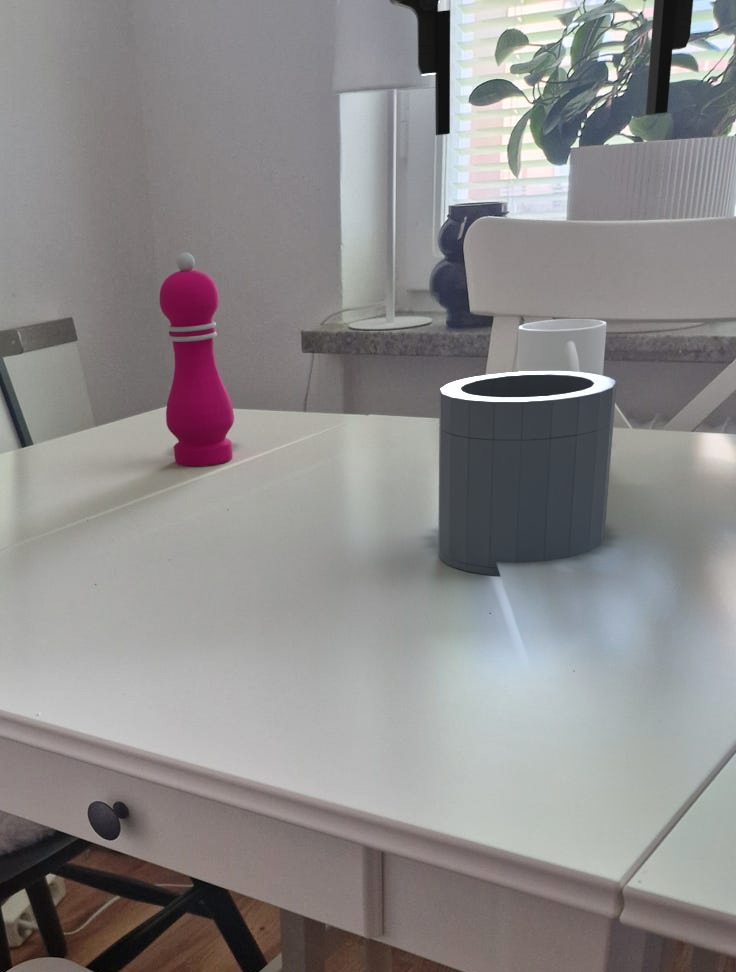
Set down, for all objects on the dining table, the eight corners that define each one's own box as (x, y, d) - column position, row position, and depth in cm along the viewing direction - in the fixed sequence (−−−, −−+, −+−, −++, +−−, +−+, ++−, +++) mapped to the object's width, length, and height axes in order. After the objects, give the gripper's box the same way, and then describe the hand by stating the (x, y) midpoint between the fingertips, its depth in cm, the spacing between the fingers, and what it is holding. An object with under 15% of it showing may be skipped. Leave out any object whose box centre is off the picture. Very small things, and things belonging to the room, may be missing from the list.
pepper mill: (204, 470, 121) (184, 255, 111) (156, 464, 125) (133, 256, 115) (251, 456, 125) (236, 248, 115) (203, 450, 130) (185, 249, 120)
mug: (609, 471, 108) (620, 332, 102) (516, 475, 109) (521, 338, 103) (593, 444, 118) (603, 315, 112) (508, 448, 119) (512, 321, 113)
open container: (587, 526, 94) (599, 366, 87) (616, 572, 83) (631, 395, 77) (434, 533, 95) (435, 377, 89) (443, 580, 84) (445, 406, 78)
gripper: (340, -317, 63) (355, 142, 73) (823, -384, 60) (765, 102, 71) (341, -273, 69) (355, 143, 80) (777, -332, 66) (731, 107, 77)
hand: (548, 125), depth 75 cm, fingers open, 13 cm apart
